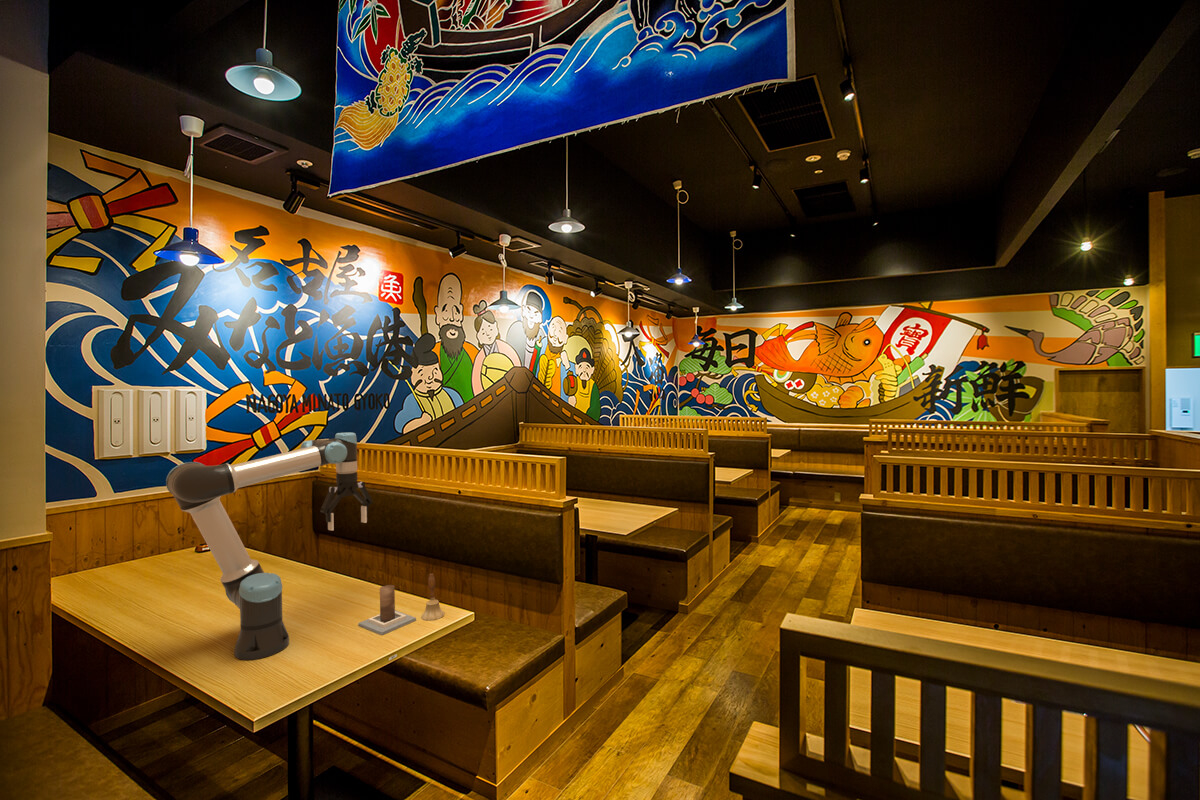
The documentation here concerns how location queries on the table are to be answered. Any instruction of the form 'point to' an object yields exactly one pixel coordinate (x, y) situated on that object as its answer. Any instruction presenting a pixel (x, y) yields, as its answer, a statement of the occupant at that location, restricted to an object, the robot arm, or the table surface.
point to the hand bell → (432, 603)
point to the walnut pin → (387, 603)
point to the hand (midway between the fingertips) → (347, 526)
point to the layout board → (383, 628)
